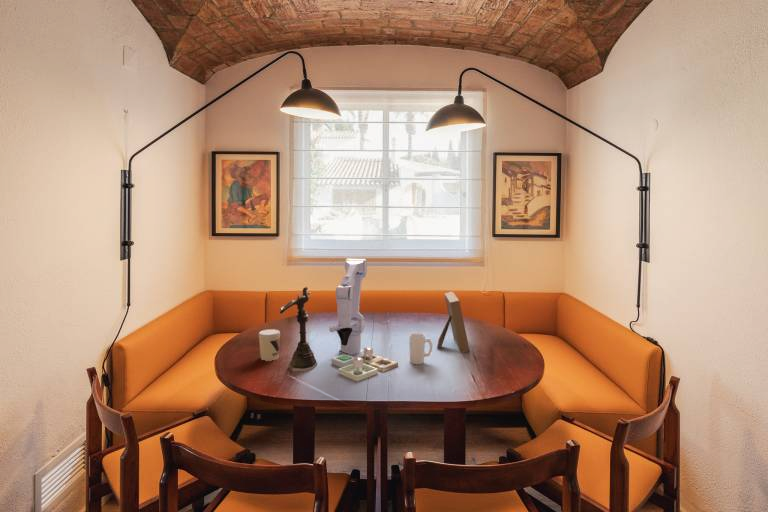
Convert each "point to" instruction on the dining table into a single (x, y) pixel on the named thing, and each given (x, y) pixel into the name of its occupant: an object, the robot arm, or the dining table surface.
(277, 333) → the coffee cup
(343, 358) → the button
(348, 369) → the tray
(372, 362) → the cream parts tray
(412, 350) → the mug
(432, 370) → the dining table surface
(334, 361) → the button housing
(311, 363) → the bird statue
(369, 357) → the billet
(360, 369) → the billet
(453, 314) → the photo frame
